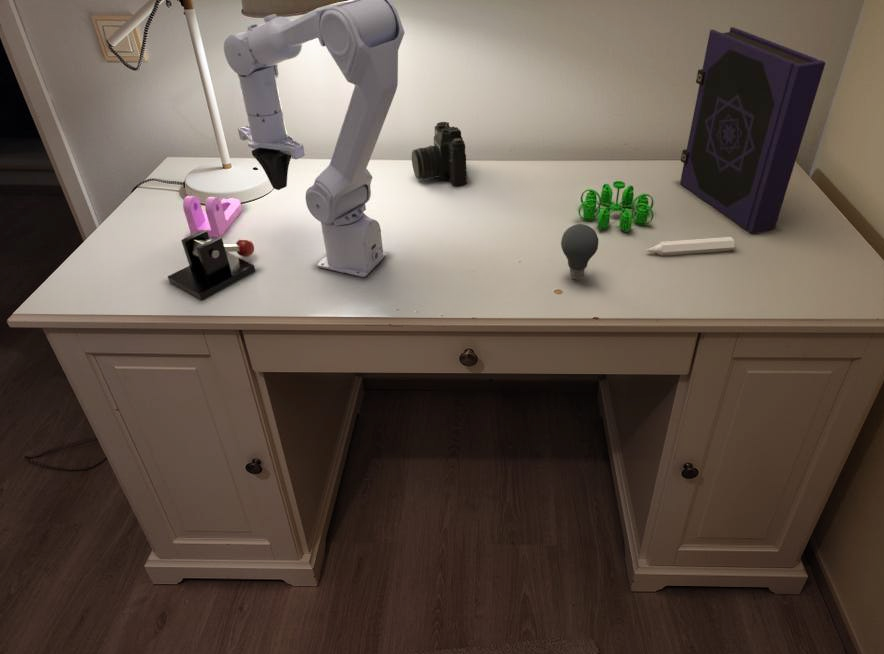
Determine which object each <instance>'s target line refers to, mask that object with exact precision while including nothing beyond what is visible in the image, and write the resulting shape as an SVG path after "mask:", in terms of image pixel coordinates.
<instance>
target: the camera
mask: <svg viewBox="0 0 884 654" xmlns="http://www.w3.org/2000/svg"><path fill="white" fill-rule="evenodd" d="M411 164H412V165H411V166H412V169H413V173H414V177H415V178H416V179H417V180H427V179H433V178H439V179H441V180H443V181H449V182H451V183H452V186H453V187H461V186H465V185H466V184H468V182H467V179H468V176H467V173H468V172H467V154H466V144H465V141H464V140H463V137H462V131H461V130H460V129H459V128H458V127H457V126H450V122H448V121H440V122H437V123H436V125H435V126H434V136H433V145H429V146H425V147H418V148H416V149H413V150H412V151H411Z"/></svg>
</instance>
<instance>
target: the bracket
mask: <svg viewBox="0 0 884 654" xmlns="http://www.w3.org/2000/svg"><path fill="white" fill-rule="evenodd" d="M228 198H229V199H225V198H220V197H217V196H208V197H207V198H206V200H205V203H204V208H205V209H204V210H205V211H203V208H202V204H201V201H200V199H199V197H197V196H195V195H186V196H185V197H184V199H183V203H182V209H183V213H184V215H185V218H186V222H187V225H188V229H189V231H190V236H191V235H193V234H195V233H197V232H200V231H202V230H206V231H207V232H208V235H209V238H217V237H220V238H222V236H223V235H224V233H225V232H227V230H228V229H229V227H230V226H231V225H232V223H233V222H235V220H236V219H237V218H238V216H239V215H240V214H241V212H242V211H243V207H242V204H241V203H242V202H241V200H240V199H237V198H234V197H228ZM221 199H222V200H221Z"/></svg>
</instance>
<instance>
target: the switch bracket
mask: <svg viewBox="0 0 884 654" xmlns="http://www.w3.org/2000/svg"><path fill="white" fill-rule="evenodd" d="M194 240H210V241H209V242H207V243H204V244H202V245H200V246H198V247H196V249H197V252H198V256H199V257H198V256H196V255H194V254H193V244H194ZM181 245H182V247H183V250H184V254H185V256H186V259H187V263H188V266H186V267H184V268H182V269H179V270H177V271H176V272H173V273H171V274H170V275H167V279H168V282H169V283H170V284H172V285H173V286H176V287H177V288H179V289H181V290H182V291H184V292H186V293H187V294H189V295H191V296H193V297H195V298H196V299H199V300H200V301H203V300H206V299H207V298H209V297H210V296H213V295H214V294H216V293H219V292H220V291H221V290H223V289H225V288H227V287H229V286H231V285H233V284H235V283H236V282H238V281H240V280H242V279H244V278H246V277H248V276H249V275H251V274H253V273H255V272H256V268H255V265H254V264H252V263H250V262H248V261H246V260H245V259H242V258H240V257H238V256H236V255H234V254H232V253H230V252H226V251H225V247H224V240H223V238H222V237H214V238H213V239H211V238H210V237H209V235H208V232H207V231H206V230H202V231H200V232H197V233H195V234H193V235H191V234H190V235H189V236H187V237H185V238H182V239H181Z"/></svg>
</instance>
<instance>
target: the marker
mask: <svg viewBox="0 0 884 654" xmlns="http://www.w3.org/2000/svg"><path fill="white" fill-rule="evenodd" d="M734 248H735V239H733V237H732V236H726V237H711V238H710V237H709V238H698V239H695V238H694V239H682V240H681V239H680V240H669V241H668V240H667V241H659V243H657V244H656V245H654V246H652V247H649V248H647V249H644V251H646V252H650V253H655V254H658V255H659V256H660V257H661V256H676V255H678V256H679V255H691V254H692V255H693V254H704V253H718V252H719V253H720V252H732V251H733V249H734Z"/></svg>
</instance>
